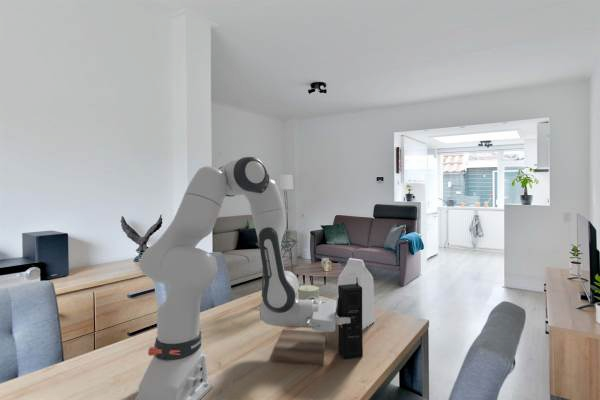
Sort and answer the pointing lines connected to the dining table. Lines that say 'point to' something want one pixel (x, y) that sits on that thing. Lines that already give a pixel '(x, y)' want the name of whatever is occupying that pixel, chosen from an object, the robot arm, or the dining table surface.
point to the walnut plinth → (300, 347)
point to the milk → (365, 280)
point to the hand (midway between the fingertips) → (350, 315)
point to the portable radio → (352, 331)
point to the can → (308, 292)
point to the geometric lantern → (284, 253)
